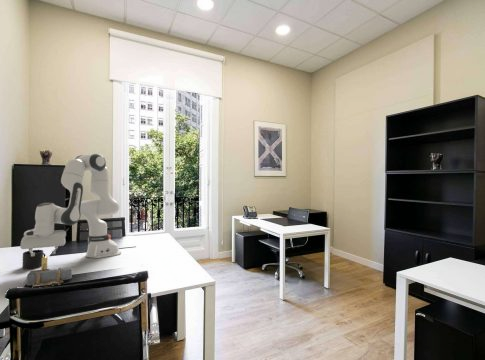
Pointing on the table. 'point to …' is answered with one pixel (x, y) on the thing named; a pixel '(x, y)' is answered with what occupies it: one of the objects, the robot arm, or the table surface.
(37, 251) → the mug
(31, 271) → the tan lumpy piece
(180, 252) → the table surface
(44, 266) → the pin
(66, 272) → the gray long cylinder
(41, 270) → the peg rack
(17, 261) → the table surface
